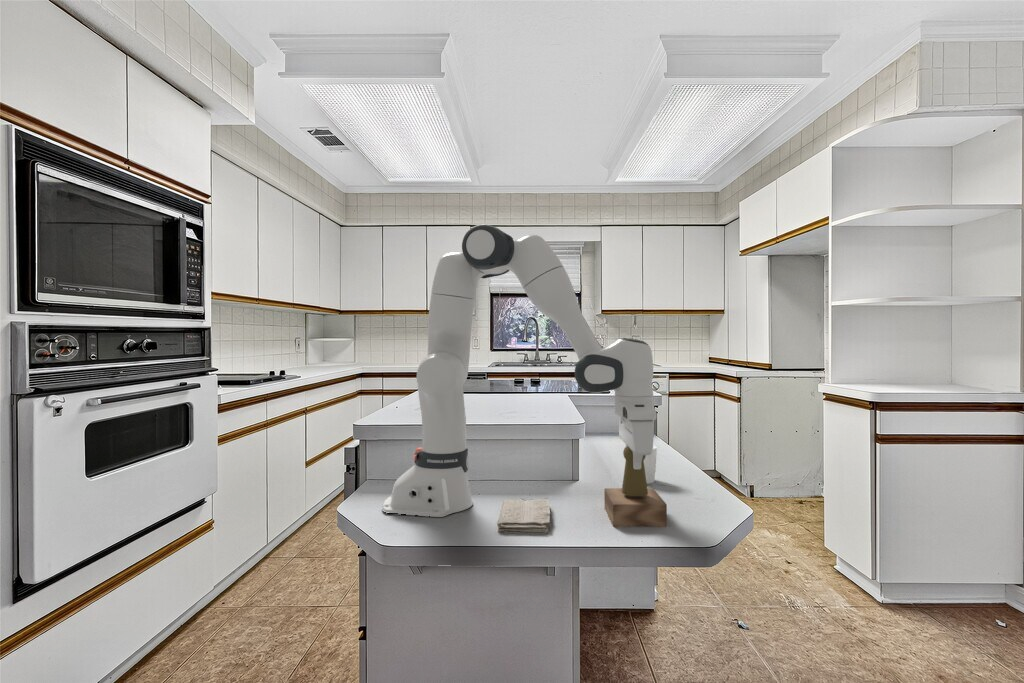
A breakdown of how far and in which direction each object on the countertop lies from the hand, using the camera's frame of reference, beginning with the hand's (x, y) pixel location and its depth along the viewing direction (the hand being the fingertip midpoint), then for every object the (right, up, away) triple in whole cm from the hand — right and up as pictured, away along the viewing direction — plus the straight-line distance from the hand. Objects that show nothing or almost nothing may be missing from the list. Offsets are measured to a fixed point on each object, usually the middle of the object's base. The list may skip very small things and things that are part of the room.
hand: (634, 465), depth 125 cm
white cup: (+9, -12, +30) cm, 34 cm away
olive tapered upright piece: (0, -7, 0) cm, 7 cm away
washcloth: (-26, -13, -1) cm, 29 cm away
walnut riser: (0, -12, 0) cm, 12 cm away
